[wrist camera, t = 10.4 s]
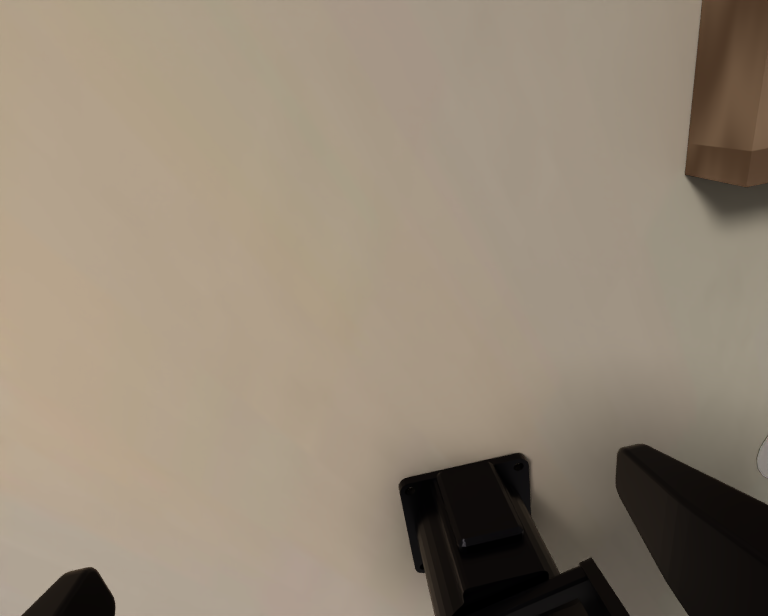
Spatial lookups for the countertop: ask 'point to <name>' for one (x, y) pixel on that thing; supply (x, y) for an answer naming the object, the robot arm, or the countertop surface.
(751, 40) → the rubber-lined collar
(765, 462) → the wineglass
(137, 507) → the countertop surface
